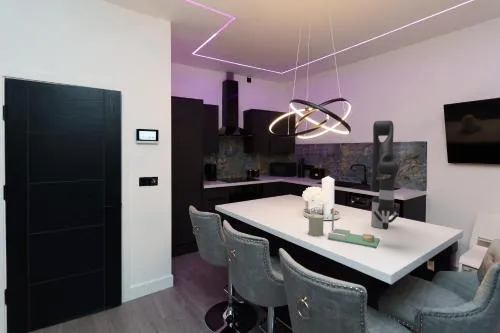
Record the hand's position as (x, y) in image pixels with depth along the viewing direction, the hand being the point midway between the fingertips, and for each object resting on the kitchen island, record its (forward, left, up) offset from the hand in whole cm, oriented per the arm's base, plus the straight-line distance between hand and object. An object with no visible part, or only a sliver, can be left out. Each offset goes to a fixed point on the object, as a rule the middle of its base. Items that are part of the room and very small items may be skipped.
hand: (385, 229), depth 147 cm
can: (+2, -39, -9) cm, 40 cm away
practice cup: (0, -24, -8) cm, 25 cm away
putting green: (0, -17, -9) cm, 19 cm away
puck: (0, -9, -8) cm, 12 cm away
